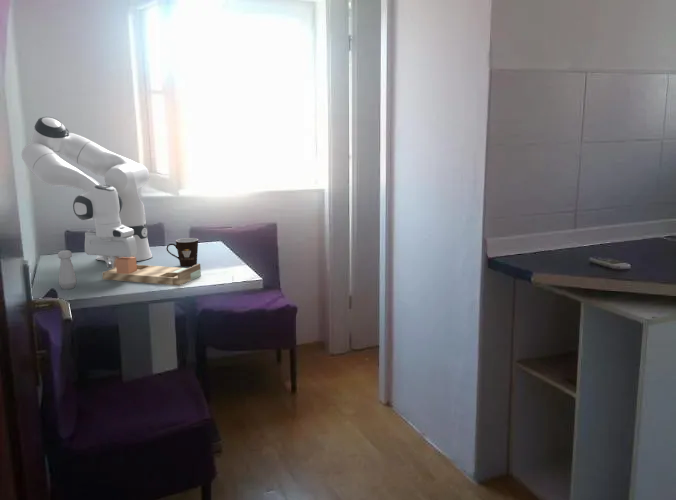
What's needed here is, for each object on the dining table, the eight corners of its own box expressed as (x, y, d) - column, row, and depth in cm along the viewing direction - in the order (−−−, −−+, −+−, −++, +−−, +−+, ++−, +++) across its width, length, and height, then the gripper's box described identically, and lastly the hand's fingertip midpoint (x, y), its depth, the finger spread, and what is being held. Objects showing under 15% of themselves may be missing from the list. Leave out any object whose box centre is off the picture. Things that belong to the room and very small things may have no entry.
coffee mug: (203, 263, 252) (202, 238, 250) (192, 268, 244) (190, 242, 242) (178, 261, 256) (177, 237, 254) (166, 266, 248) (164, 241, 246)
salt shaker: (62, 285, 221) (58, 249, 218) (79, 285, 222) (75, 248, 219) (56, 290, 215) (52, 252, 213) (74, 289, 216) (70, 252, 213)
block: (116, 272, 228) (115, 259, 227) (125, 269, 233) (124, 256, 232) (128, 273, 227) (127, 260, 226) (137, 270, 231) (136, 257, 230)
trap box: (102, 279, 229) (101, 267, 228) (126, 270, 242) (125, 258, 241) (180, 285, 220) (179, 272, 219) (200, 275, 233) (200, 263, 232)
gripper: (78, 230, 229) (82, 267, 232) (126, 233, 222) (130, 271, 225) (90, 227, 235) (94, 264, 237) (137, 230, 228) (140, 267, 231)
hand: (111, 267), depth 231 cm, fingers closed
